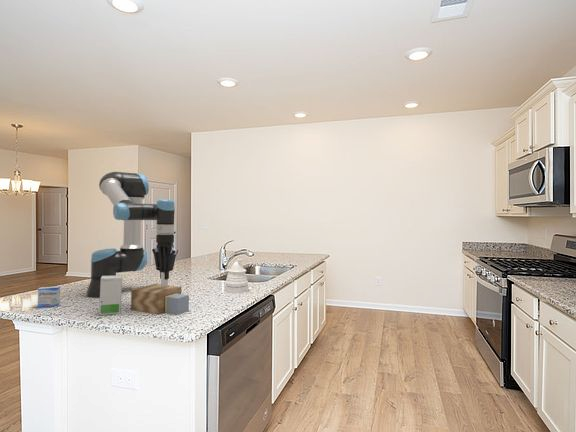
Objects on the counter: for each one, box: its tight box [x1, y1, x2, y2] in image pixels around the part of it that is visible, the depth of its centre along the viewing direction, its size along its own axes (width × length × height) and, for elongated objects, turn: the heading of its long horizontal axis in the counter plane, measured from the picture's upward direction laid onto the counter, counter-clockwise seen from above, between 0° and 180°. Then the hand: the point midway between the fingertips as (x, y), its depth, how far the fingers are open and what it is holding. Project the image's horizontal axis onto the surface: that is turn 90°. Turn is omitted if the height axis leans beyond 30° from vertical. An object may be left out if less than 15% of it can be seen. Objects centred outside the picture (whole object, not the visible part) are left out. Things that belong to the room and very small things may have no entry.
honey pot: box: [224, 258, 249, 295], centre depth 190 cm, size 13×13×18 cm
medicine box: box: [37, 285, 61, 309], centre depth 153 cm, size 8×4×9 cm, turn 118°
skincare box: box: [98, 275, 123, 316], centre depth 145 cm, size 8×7×16 cm
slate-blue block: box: [164, 293, 190, 316], centre depth 148 cm, size 7×7×7 cm
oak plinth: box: [130, 283, 182, 315], centre depth 154 cm, size 16×14×9 cm
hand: (164, 286), depth 152 cm, fingers closed
